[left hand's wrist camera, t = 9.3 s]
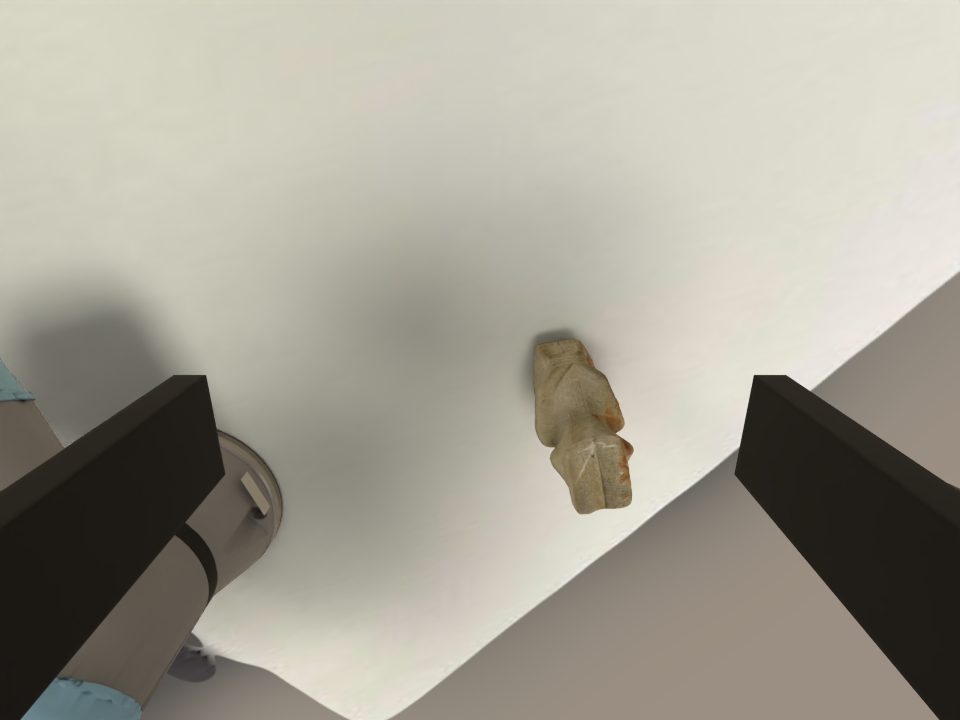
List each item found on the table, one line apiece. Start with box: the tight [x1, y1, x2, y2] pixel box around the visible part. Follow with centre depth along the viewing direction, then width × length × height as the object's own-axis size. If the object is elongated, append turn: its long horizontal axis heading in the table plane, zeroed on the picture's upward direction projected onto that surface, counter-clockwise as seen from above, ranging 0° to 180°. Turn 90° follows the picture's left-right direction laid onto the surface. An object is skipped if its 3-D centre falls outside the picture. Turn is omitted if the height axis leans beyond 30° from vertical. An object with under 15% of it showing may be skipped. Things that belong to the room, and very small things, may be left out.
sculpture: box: [533, 339, 633, 514], centre depth 36 cm, size 6×7×15 cm
